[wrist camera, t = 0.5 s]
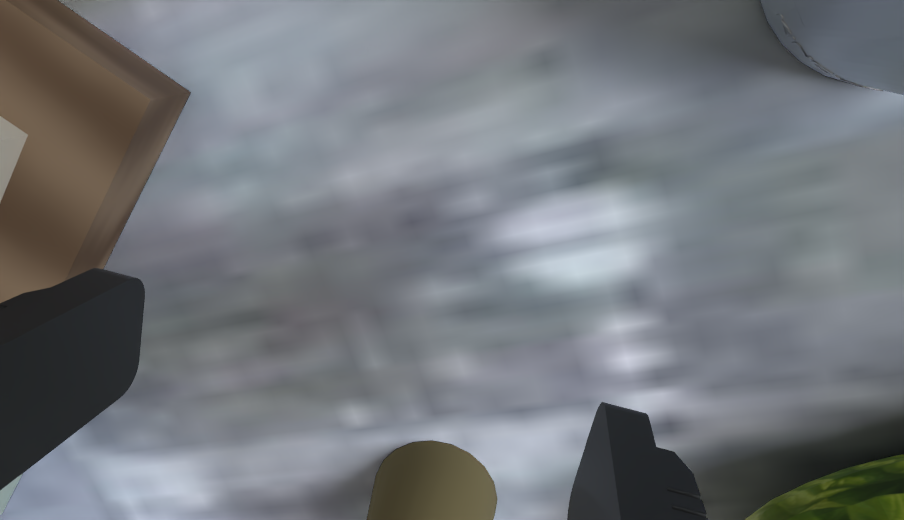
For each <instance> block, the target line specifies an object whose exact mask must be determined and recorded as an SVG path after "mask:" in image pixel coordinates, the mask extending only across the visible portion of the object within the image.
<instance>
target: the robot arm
mask: <svg viewBox="0 0 904 520" xmlns="http://www.w3.org/2000/svg"><path fill="white" fill-rule="evenodd" d="M760 2H761V4H762V7H763V10H764V13H765V16H766V19H767V22H768V23H769V25H770V26H771V28H772V29H773V31H774V32H775V34H776V36H777V37H778V39H779V40H780V42H781V43H782V45H783V46H784V47H786V48H787V49H788V50H789V51H790V52H791V53H792V54H793V55H794V56H795V57H796V58H797V59H798V60H799V61H800V62H802V63H803V64H805V65H807V66H809V67H810V68H812V69H814V70H816V71H817V72H819V73H821V74H823V75H824V76H828V77H831V78H834V79H838V80H841V81H844V82H847V83H851V84H852V85H855V86H860V87H865V88H869V89H874V90H879V91H883V90H885V91H889V92H893V93H897V94H902V95H904V0H760ZM144 299H145V290H144V285H143V283H142V282H141V280H139V279H138V278H134V277H130V276H126V275H122V274H119V273H115V272H111V271H107V270H103V269H100V268H93V269H90V270H88V271H86V272H84V273H81V274H79V275H77V276H75V277H72V278H70V279H68V280H66V281H64V282H61V283H59V284H57V285H55V286H52V287H50V288H45V289H40V290H35V291H30V292H25V293H22V294H20V295H18V296H15V297H13V298H11V299H9V300H6V301H4V302H2V303H0V490H2V489H3V488H4V487H5V486H7V485H8V484H9V483H11V482H12V481H13V480H14V479H16V478H17V477H18V476H20V475H21V474H22V473H23V472H25V471H26V470H27V469H29V468H30V467H31V466H33V465H34V464H35V463H36V462H38V461H39V460H40V459H42V458H43V457H44V456H45V455H47V454H48V453H49V452H51V451H52V450H53V449H54V448H56V447H57V446H58V445H60V444H61V443H62V442H64V441H65V440H66V439H67V438H69V437H70V436H71V435H73V434H74V433H75V432H76V431H78V430H79V429H80V428H82V427H83V426H84V425H85V424H87V423H88V422H89V421H91V420H92V419H93V418H94V417H96V416H97V415H98V414H100V413H101V412H102V411H104V410H105V409H106V408H107V407H109V406H110V405H111V404H113V403H114V402H115V401H116V400H118V399H119V398H120V397H121V396H123V395H124V393H125V392H126V391H127V390H128V388H129V387H130V385H131V384H132V382H133V380H134V377H135V375H136V372H137V369H138V365H139V356H140V345H141V333H142V322H143V310H144ZM568 520H708V519H707V518H706V511H705V508H704V505H703V502H702V500H700V493H699V490H698V487H697V484H696V481H695V478H694V475H693V473H692V472H691V471H690V470H689V469H688V467H687V466H686V465H685V464H684V463H683V462H682V460H681V459H680V458H679V457H678V456H677V455H676V454H675V452H672V451H669V450H665V449H661V448H658V447H656V444H655V440H654V436H653V432H652V429H651V425H650V421H649V417H648V415H647V414H646V413H642V412H638V411H634V410H630V409H627V408H623V407H619V406H615V405H611V404H608V403H604V402H602V403H601V404H600V406H599V407H598V410H597V412H596V415H595V418H594V421H593V424H592V427H591V430H590V433H589V437H588V440H587V443H586V446H585V449H584V452H583V456H582V459H581V462H580V465H579V468H578V471H577V475H576V478H575V481H574V484H573V488H572V492H571V497H570V502H569V509H568Z"/></svg>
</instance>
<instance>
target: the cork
mask: <svg viewBox="0 0 904 520" xmlns="http://www.w3.org/2000/svg"><path fill="white" fill-rule="evenodd" d="M496 504H497V495H496V490H495V485H494V482H493V480H492V478H491V477H490V475H489V473H488V472H487V470H486V468H485V467H484V466H483V465H482V464H481V463H480V462H479V461H478V460H477V459H476V458H474V457H473V456H472V455H471V454H470V453H468V452H466V451H464V450H462V449H460V448H458V447H456V446H454V445H452V444H447V443H441V442H436V441H423V442H412V443H410V444H407V445H405V446H403V447H400V448H398V449H396V450H395V451H393V452H392V453H391V454H390V455H389V456H388V457H387V458H386V459H384V460H383V462H382V464H381V466H380V468H379V470H378V472H377V474H376V478H375V482H374V487H373V492H372V497H371V501H370V506H369V511H368V516H367V520H493V518H494V515H495V510H496Z"/></svg>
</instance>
